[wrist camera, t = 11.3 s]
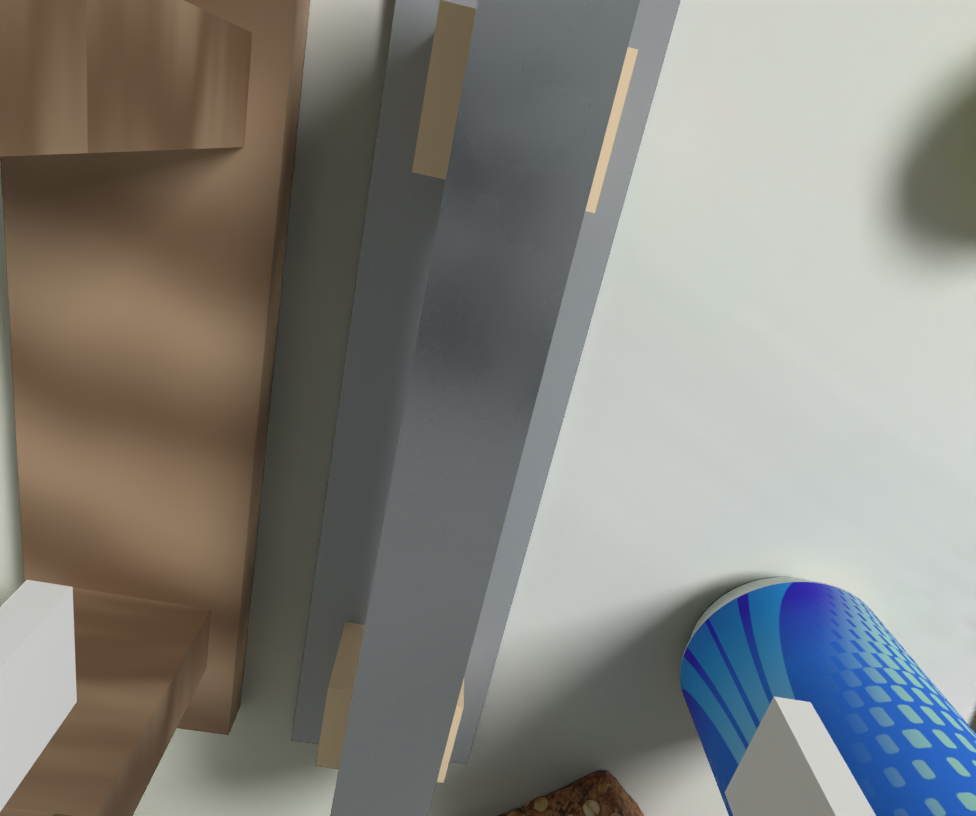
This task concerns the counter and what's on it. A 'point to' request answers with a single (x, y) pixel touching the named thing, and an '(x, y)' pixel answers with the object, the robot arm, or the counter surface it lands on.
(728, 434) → the counter surface
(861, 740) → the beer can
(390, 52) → the slate mat with oak rests
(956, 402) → the counter surface
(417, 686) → the steel rail
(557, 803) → the bread
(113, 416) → the walnut rack
